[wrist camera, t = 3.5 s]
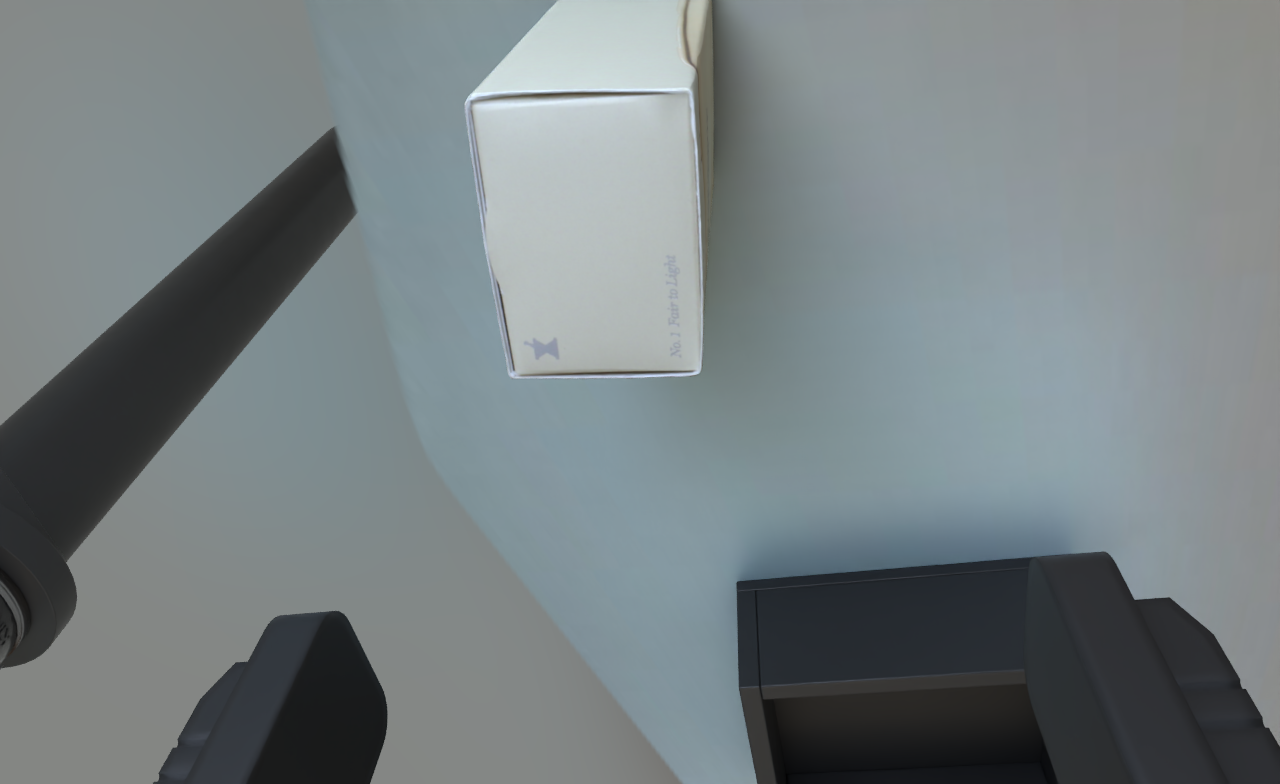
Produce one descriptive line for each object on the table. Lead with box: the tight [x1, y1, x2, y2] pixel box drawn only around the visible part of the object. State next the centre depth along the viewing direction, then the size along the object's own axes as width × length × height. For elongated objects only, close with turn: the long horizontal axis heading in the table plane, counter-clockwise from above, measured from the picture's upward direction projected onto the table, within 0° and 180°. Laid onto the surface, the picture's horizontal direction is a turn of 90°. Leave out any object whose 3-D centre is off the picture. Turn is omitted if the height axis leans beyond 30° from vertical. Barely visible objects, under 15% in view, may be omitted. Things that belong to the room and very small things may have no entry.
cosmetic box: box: [465, 0, 714, 379], centre depth 23 cm, size 6×4×12 cm
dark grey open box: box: [737, 558, 1058, 784], centre depth 40 cm, size 14×14×6 cm
